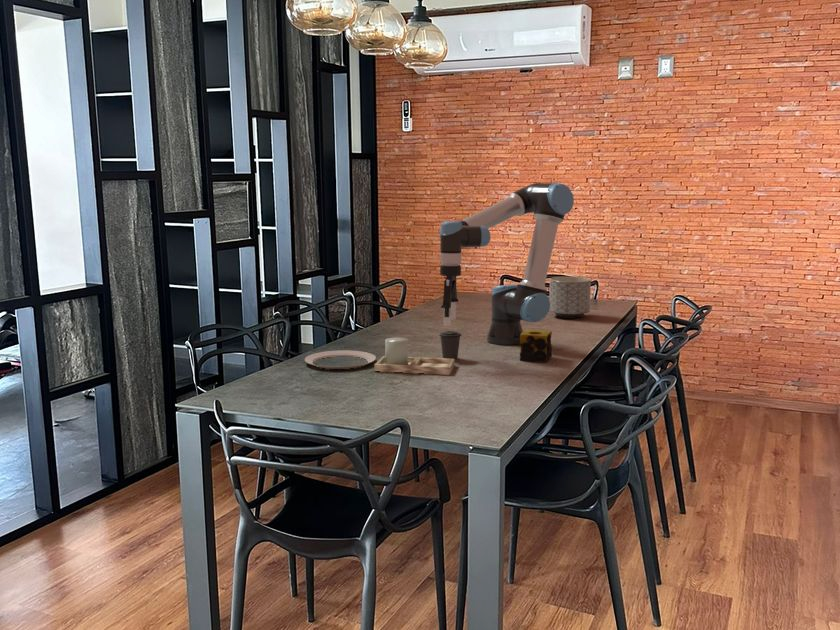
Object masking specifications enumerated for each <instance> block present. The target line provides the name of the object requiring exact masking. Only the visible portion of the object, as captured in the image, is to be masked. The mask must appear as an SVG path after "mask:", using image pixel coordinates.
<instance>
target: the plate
mask: <svg viewBox="0 0 840 630" xmlns="http://www.w3.org/2000/svg"><path fill="white" fill-rule="evenodd" d="M336 356H353V357H352V358H355V357H360V358H359V359H361V358H364V359H366V360H367V361H368V363H367V361H366V360H365V361H366V363H362V364H357V365H347V366H346V365H345V366H327V365H317V364H315V362H317V361H316V360H318V359H320V360H323V359H322V358H325V359H328V358H327V357H331V358H337V357H336ZM364 359H363V360H364ZM376 360H377V356H376V355H375V354H374V353H370V352H366V351H361V350H349V349H346V350H344V349H343V350H341V349H339V350H338V349H337V350H328V351H326V350H325V351H321V352H315V353H312V354H309V355H307V356H306V357H305V358H304V362H305V363H306V364H309V365H312V366H314V367H315V366H316V368H318V367H320V368H319V369H322V368H325V369H324V370H330V369H345V370H351V369H350V368H354V369H358V368H357V367H359V368H362V367H361V366H363V367H365V366H367V365H369V364H371V363H372V362H375V361H376ZM314 361H315V362H314ZM318 361H319V360H318ZM313 362H314V364H313ZM366 364H367V365H366ZM364 365H365V366H364Z"/></svg>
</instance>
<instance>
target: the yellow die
mask: <svg viewBox="0 0 840 630" xmlns="http://www.w3.org/2000/svg"><path fill="white" fill-rule="evenodd" d="M552 332H553V331H552V330H545V329H544V330H543V329H525V330H523V333H521V334H520V344H519V345H520V347H519V348H520V349H519V357H520V358H519V361H521V362H532V363H548V362H549V360H551V358H552V356H553V354H552V352H553V350H552V349H553V347H552V343H551V342H552V340H551V338H552V334H553V333H552Z"/></svg>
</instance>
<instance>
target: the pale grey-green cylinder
mask: <svg viewBox="0 0 840 630" xmlns="http://www.w3.org/2000/svg"><path fill="white" fill-rule="evenodd" d="M384 347H385V348H384V350H385V351H384V352H385V353H384V356H385V364H390V365H408V357H409V339H408V338H406V337H390V338H389V337H388V338H385V340H384Z"/></svg>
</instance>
